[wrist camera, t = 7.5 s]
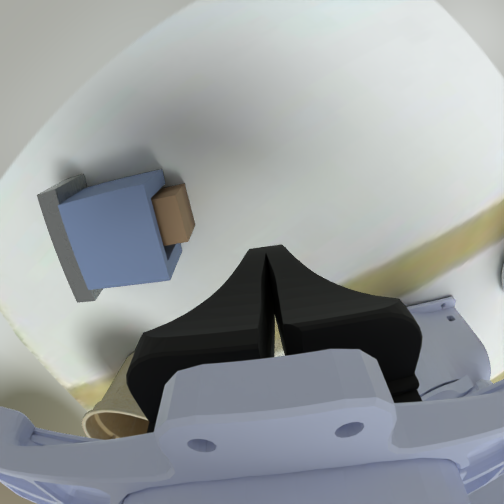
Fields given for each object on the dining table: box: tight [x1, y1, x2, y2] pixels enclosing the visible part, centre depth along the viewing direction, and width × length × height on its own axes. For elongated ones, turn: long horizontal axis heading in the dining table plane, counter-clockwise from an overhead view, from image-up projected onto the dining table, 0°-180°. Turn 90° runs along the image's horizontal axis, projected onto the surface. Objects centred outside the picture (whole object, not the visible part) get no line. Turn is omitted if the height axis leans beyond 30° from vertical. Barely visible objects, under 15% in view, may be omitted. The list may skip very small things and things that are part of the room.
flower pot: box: [82, 352, 149, 440], centre depth 24 cm, size 9×9×9 cm
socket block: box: [58, 169, 182, 290], centre depth 19 cm, size 6×6×4 cm
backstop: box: [37, 174, 103, 302], centre depth 20 cm, size 2×8×4 cm, turn 9°
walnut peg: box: [151, 183, 195, 246], centre depth 20 cm, size 6×3×3 cm, turn 100°
